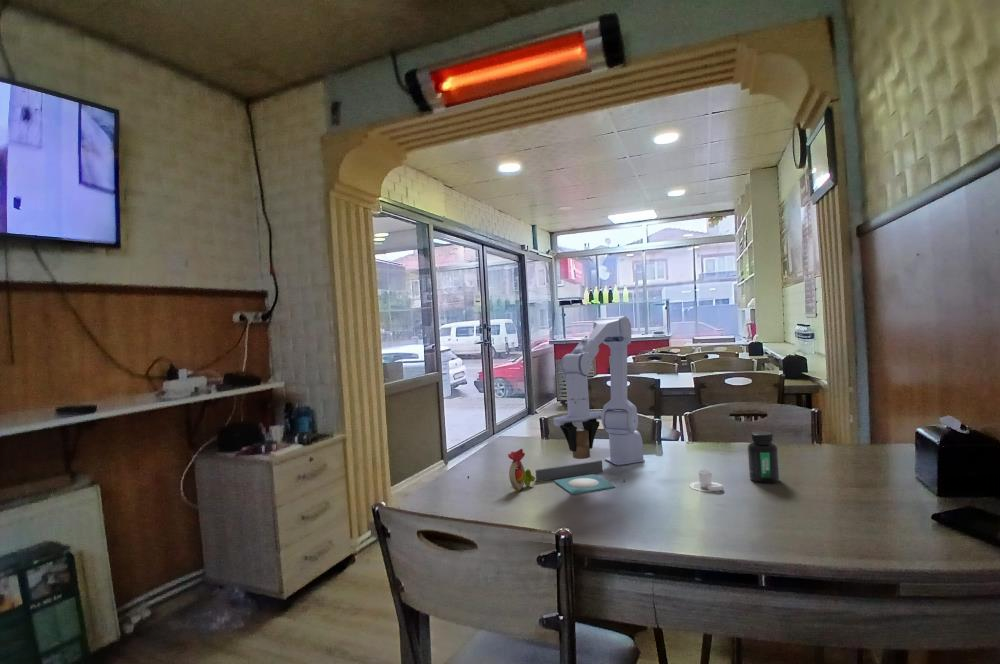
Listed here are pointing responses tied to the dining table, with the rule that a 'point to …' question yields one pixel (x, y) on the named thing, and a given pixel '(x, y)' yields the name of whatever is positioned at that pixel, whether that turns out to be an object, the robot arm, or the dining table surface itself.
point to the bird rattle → (519, 471)
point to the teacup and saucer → (707, 482)
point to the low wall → (568, 470)
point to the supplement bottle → (763, 458)
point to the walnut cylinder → (582, 444)
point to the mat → (583, 484)
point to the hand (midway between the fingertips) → (581, 449)
